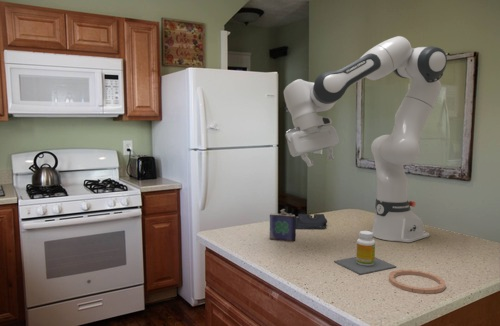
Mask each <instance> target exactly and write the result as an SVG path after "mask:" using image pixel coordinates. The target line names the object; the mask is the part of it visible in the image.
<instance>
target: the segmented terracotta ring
mask: <svg viewBox="0 0 500 326" xmlns="http://www.w3.org/2000/svg"><path fill="white" fill-rule="evenodd" d="M404 275H412V276H420V277H422V278H423V277H425V278H428V279H430V280H432V279H433V281H435V282H436V283H437V284H438V286H433V287H418V286H412V285H409V284H405V283H402V282H400V281H398V280H397V279H396V277H398V276H404ZM388 282H389V283H390V284H391V285H392V286H394V287H396V288H398V289H400V290H403V291H407V292H411V293H416V294H422V295H423V294H426V295H427V294H429V295H430V294H437V293H442V292H443V291H444V290H445V289H446V287H447V284H446V282H445V280H444V279H443V278H442V277H440V276H438V275H436V274H433V273H431V272H428V271H427V272H426V271H423V270H416V269H398V270H393V271H392V272H390V273H389V274H388Z"/></svg>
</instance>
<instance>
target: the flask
mask: <svg viewBox="0 0 500 326" xmlns="http://www.w3.org/2000/svg"><path fill="white" fill-rule="evenodd" d="M285 210H286V209H285V208H282V209H281V210H279V211H280V213H270V214H269V240H271V241H279V240H280V242H282V241H283V242H291V243H293V242H294V241H295V242H296V237H297V236H296V234H297V233H296V230H297V229H296V217H297V216H296V215H295V214H292V213H288V212H286V211H285Z"/></svg>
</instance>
